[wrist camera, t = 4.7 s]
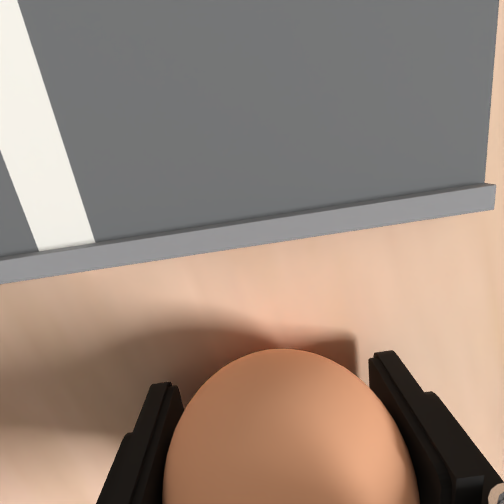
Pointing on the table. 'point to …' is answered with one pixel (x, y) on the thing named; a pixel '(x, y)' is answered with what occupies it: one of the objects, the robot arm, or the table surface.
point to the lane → (233, 124)
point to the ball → (287, 438)
